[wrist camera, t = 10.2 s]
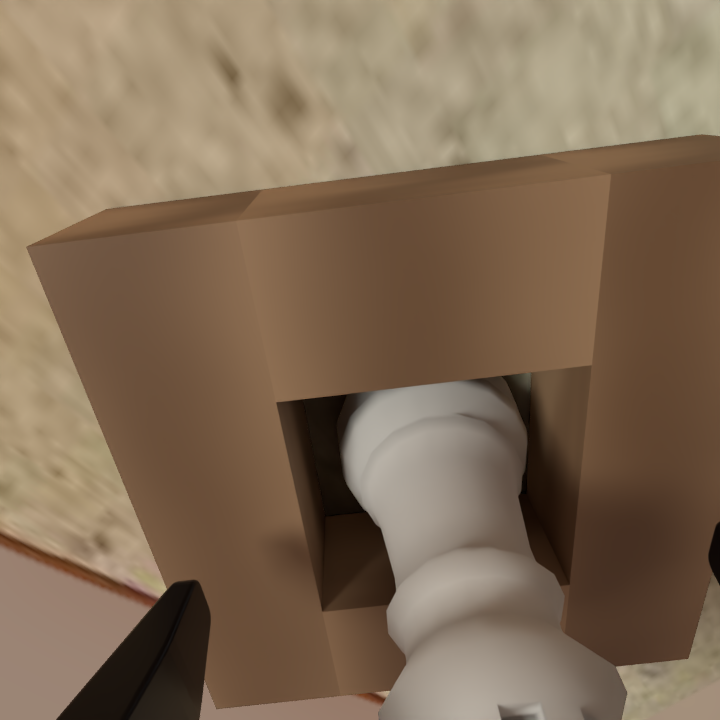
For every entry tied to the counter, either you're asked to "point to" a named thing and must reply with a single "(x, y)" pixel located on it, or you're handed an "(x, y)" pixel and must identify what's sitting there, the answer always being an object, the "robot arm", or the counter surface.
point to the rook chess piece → (466, 560)
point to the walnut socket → (405, 369)
